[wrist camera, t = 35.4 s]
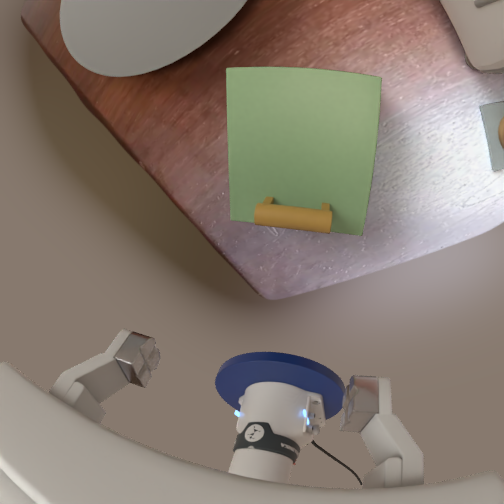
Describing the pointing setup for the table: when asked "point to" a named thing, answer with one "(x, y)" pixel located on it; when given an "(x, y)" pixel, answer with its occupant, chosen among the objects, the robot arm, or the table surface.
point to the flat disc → (139, 31)
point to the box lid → (301, 147)
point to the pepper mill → (501, 132)
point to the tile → (493, 132)
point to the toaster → (479, 32)
